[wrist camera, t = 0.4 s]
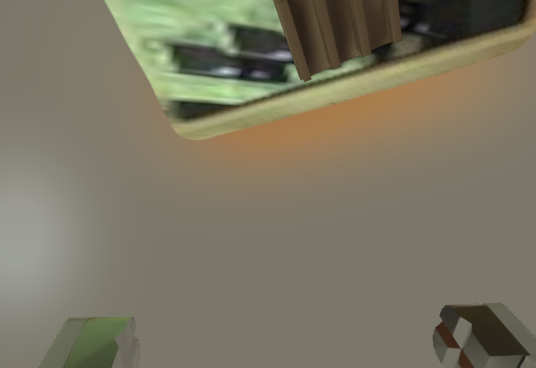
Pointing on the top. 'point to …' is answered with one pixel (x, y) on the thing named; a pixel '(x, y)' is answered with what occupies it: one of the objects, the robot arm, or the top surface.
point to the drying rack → (336, 30)
